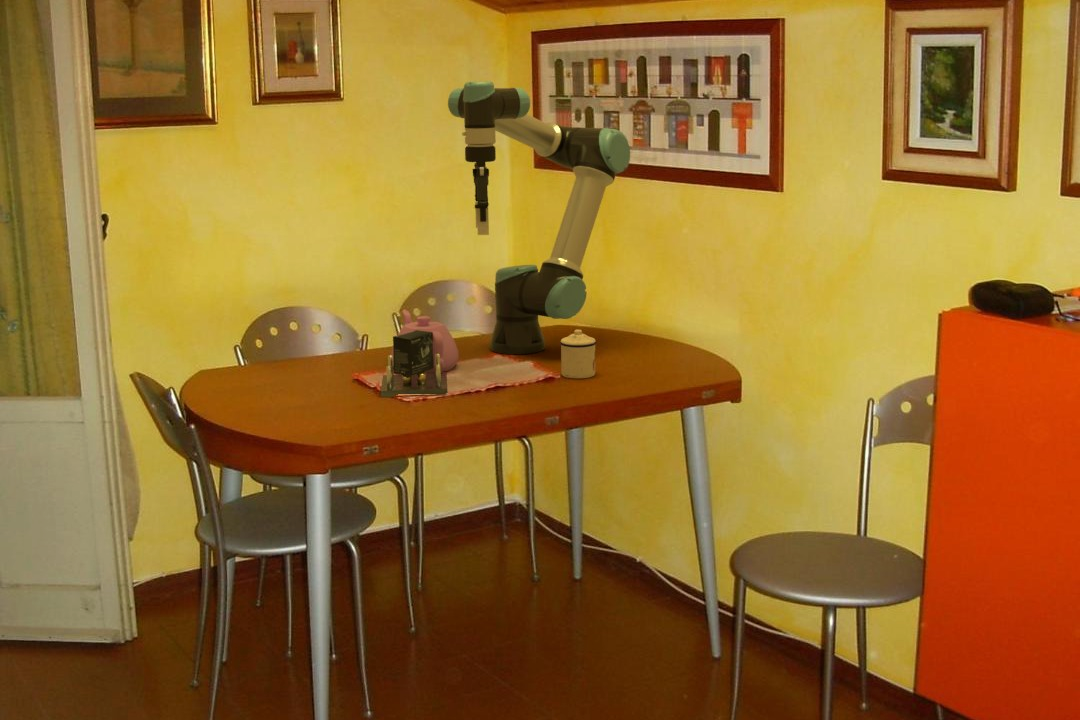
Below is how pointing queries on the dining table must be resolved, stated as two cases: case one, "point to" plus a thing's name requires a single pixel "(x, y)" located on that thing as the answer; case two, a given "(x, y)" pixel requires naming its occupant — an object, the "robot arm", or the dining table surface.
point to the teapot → (441, 340)
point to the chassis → (413, 381)
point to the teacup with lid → (578, 356)
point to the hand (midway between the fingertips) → (482, 231)
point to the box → (413, 352)
